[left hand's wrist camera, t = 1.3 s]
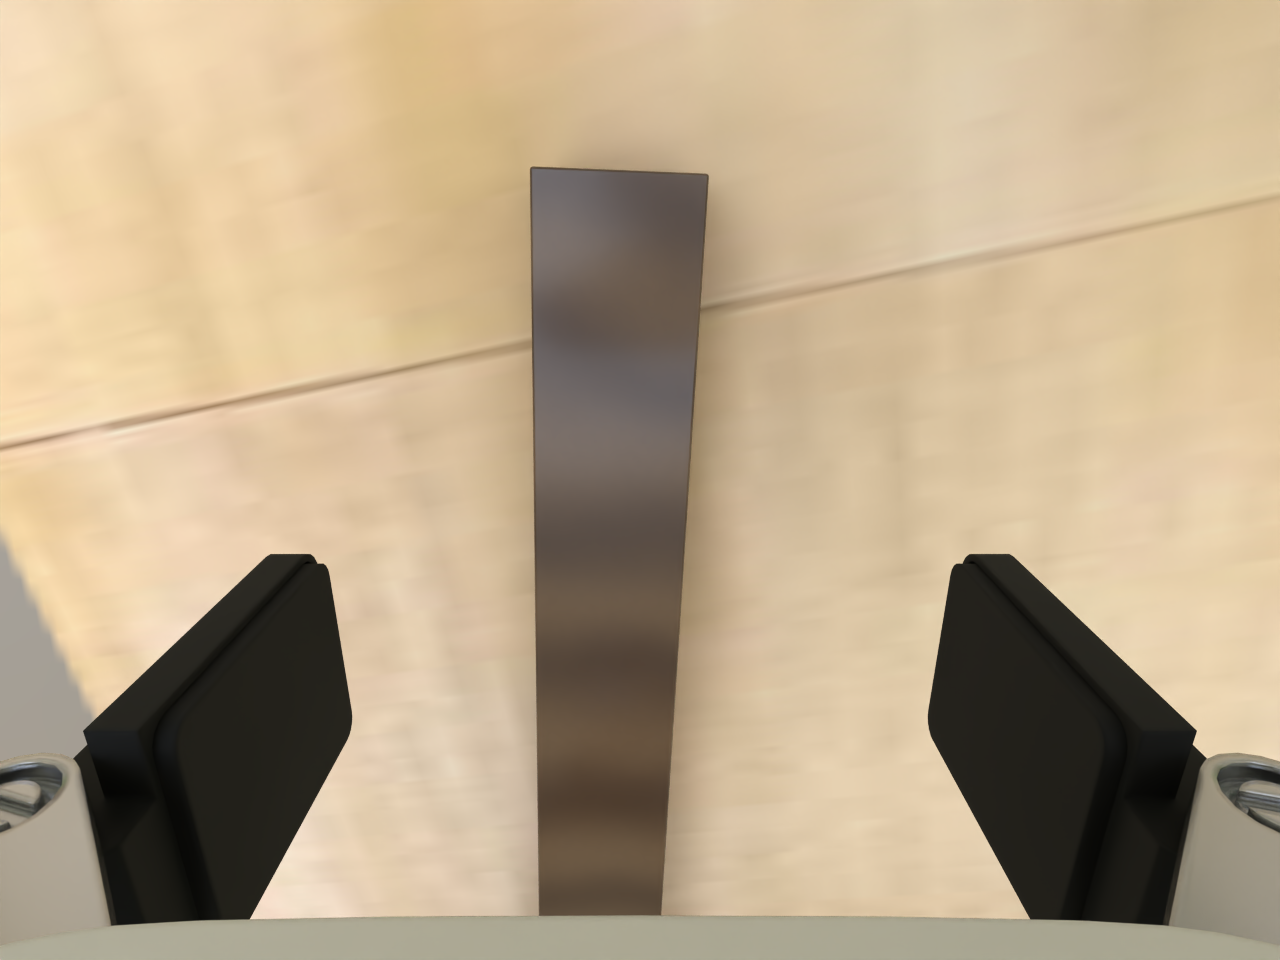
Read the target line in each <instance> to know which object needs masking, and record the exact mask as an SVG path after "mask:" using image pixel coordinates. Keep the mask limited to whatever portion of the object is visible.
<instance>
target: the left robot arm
mask: <svg viewBox="0 0 1280 960" xmlns="http://www.w3.org/2000/svg"><path fill="white" fill-rule="evenodd" d="M351 725H352V710H351V704H350V698H349V692H348V685H347V679H346V673H345V667H344V661H343V655H342V649H341V643H340V637H339V630H338V624H337V618H336V612H335V606H334V600H333V594H332V588H331V582H330V575H329V571H328V569H327V567H326V565H324V564H317V562H316V560H315V558H314V557H313V556H312V555H311V554H270V555H269V556H267V557H266V558H265V559H263V560H262V561H261V562H260V563H259V564H258V565H257V566H256V567H255V568H254V569H253V570H252V571H251V572H250V573H249V574H248V575H247V576H246V577H245V578H244V579H242V580H241V581H240V582H239V583H238V584H237V585H236V586H235V587H234V588H233V589H232V590H231V591H230V592H229V593H228V594H227V595H226V596H225V597H224V598H222V599H221V600H220V601H219V602H218V603H217V604H216V605H215V606H214V607H213V608H212V609H211V610H210V611H209V612H208V613H207V614H206V615H205V616H204V617H202V618H201V619H200V620H199V621H198V622H197V623H196V624H195V625H194V626H193V627H192V628H191V629H190V630H189V631H188V632H187V633H186V634H185V635H184V636H182V637H181V638H180V639H179V640H178V641H177V642H176V643H175V644H174V645H173V646H172V647H171V648H170V649H169V650H168V651H167V652H166V653H165V654H164V655H162V656H161V657H160V658H159V659H158V660H157V661H156V662H155V663H154V664H153V665H152V666H151V667H150V668H149V669H148V670H147V671H146V672H145V673H144V674H142V675H141V676H140V677H139V678H138V679H137V680H136V681H135V682H134V683H133V684H132V685H131V686H130V687H129V688H128V689H127V690H126V691H125V692H124V693H122V694H121V695H120V696H119V697H118V698H117V699H116V700H115V701H114V702H113V703H112V704H111V705H110V706H109V707H108V708H107V709H106V710H105V711H104V712H102V713H101V714H100V715H99V716H98V717H97V718H96V719H95V720H94V721H93V722H92V723H91V724H90V725H89V726H88V727H87V728H86V729H85V730H84V731H83V732H84V735H85V738H86V741H87V746H86V747H85V748H84V749H83V750H81V751H80V752H79V753H78V754H77V755H76V756H75V757H74V758H73V759H72V758H69V757H67V756H65V755H62V754H52V753H38V754H31V755H24V756H18V757H14V758H11V759H7V760H4V761H1V762H0V960H1280V762H1279V761H1276V760H1273V759H1269V758H1266V757H1262V756H1256V755H1249V754H1242V753H1228V754H1218V755H1215V756H1213V757H1211V758H1208V759H1207V758H1206V757H1205V756H1204V755H1203V754H1202V753H1201V752H1200V751H1199V750H1198V749H1196V748H1195V747H1194V746H1193V741H1194V738H1195V735H1196V732H1197V731H1196V730H1195V729H1194V728H1193V727H1192V726H1191V725H1190V724H1189V723H1188V722H1187V721H1186V720H1185V719H1184V718H1183V717H1182V716H1181V715H1180V714H1179V713H1178V712H1176V711H1175V710H1174V709H1173V708H1172V707H1171V706H1170V705H1169V704H1168V703H1167V702H1166V701H1165V700H1164V699H1163V698H1162V697H1161V696H1160V695H1159V694H1158V693H1156V692H1155V691H1154V690H1153V689H1152V688H1151V687H1150V686H1149V685H1148V684H1147V683H1146V682H1145V681H1144V680H1143V679H1142V678H1141V677H1140V676H1139V675H1138V674H1136V673H1135V672H1134V671H1133V670H1132V669H1131V668H1130V667H1129V666H1128V665H1127V664H1126V663H1125V662H1124V661H1123V660H1122V659H1121V658H1120V657H1119V656H1118V655H1116V654H1115V653H1114V652H1113V651H1112V650H1111V649H1110V648H1109V647H1108V646H1107V645H1106V644H1105V643H1104V642H1103V641H1102V640H1101V639H1100V638H1099V637H1098V636H1096V635H1095V634H1094V633H1093V632H1092V631H1091V630H1090V629H1089V628H1088V627H1087V626H1086V625H1085V624H1084V623H1083V622H1082V621H1081V620H1080V619H1079V618H1078V617H1076V616H1075V615H1074V614H1073V613H1072V612H1071V611H1070V610H1069V609H1068V608H1067V607H1066V606H1065V605H1064V604H1063V603H1062V602H1061V601H1060V600H1059V599H1058V598H1056V597H1055V596H1054V595H1053V594H1052V593H1051V592H1050V591H1049V590H1048V589H1047V588H1046V587H1045V586H1044V585H1043V584H1042V583H1041V582H1040V581H1039V580H1038V579H1036V578H1035V577H1034V576H1033V575H1032V574H1031V573H1030V572H1029V571H1028V570H1027V569H1026V568H1025V567H1024V566H1023V565H1022V564H1021V563H1020V562H1019V561H1018V560H1016V559H1015V558H1014V557H1013V556H1011V555H1010V554H969V555H968V556H967V557H966V558H965V560H964V562H963V564H956V565H954V567H953V569H952V571H951V575H950V582H949V588H948V594H947V600H946V606H945V612H944V618H943V624H942V630H941V637H940V643H939V649H938V655H937V661H936V667H935V673H934V679H933V685H932V692H931V698H930V704H929V710H928V725H929V731H930V734H931V737H932V739H933V741H934V743H935V745H936V747H937V749H938V750H939V752H940V754H941V756H942V758H943V760H944V761H945V763H946V765H947V767H948V769H949V771H950V772H951V774H952V776H953V778H954V780H955V782H956V784H957V785H958V787H959V789H960V791H961V793H962V795H963V796H964V798H965V800H966V802H967V804H968V806H969V807H970V809H971V811H972V813H973V815H974V817H975V818H976V820H977V822H978V824H979V826H980V828H981V829H982V831H983V833H984V835H985V837H986V839H987V840H988V842H989V844H990V846H991V848H992V850H993V852H994V853H995V855H996V857H997V859H998V861H999V863H1000V864H1001V866H1002V868H1003V870H1004V872H1005V874H1006V875H1007V877H1008V879H1009V881H1010V883H1011V885H1012V886H1013V888H1014V890H1015V892H1016V894H1017V896H1018V897H1019V899H1020V901H1021V903H1022V905H1023V907H1024V909H1025V910H1026V912H1027V914H1028V916H1029V918H1030V919H980V918H930V917H844V916H642V915H638V916H436V917H350V918H300V919H250V918H251V916H252V914H253V912H254V910H255V908H256V907H257V905H258V903H259V901H260V899H261V897H262V896H263V894H264V892H265V890H266V888H267V886H268V885H269V883H270V881H271V879H272V877H273V875H274V874H275V872H276V870H277V868H278V866H279V864H280V863H281V861H282V859H283V857H284V855H285V853H286V852H287V850H288V848H289V846H290V844H291V842H292V840H293V839H294V837H295V835H296V833H297V831H298V829H299V828H300V826H301V824H302V822H303V820H304V818H305V817H306V815H307V813H308V811H309V809H310V807H311V806H312V804H313V802H314V800H315V798H316V796H317V795H318V793H319V791H320V789H321V787H322V785H323V784H324V782H325V780H326V778H327V776H328V774H329V772H330V771H331V769H332V767H333V765H334V763H335V761H336V760H337V758H338V756H339V754H340V752H341V750H342V749H343V747H344V745H345V743H346V741H347V739H348V737H349V734H350V731H351Z"/></svg>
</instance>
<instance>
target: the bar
mask: <svg viewBox="0 0 1280 960" xmlns="http://www.w3.org/2000/svg"><path fill="white" fill-rule="evenodd" d="M708 180H709V176H708V174H700V173H676V172H652V171H627V170H603V169H579V168H554V167H531V168H530V208H531V290H532V373H533V456H534V539H535V621H536V704H537V787H538V870H539V916H638V915H642V916H661V907H662V892H663V876H664V861H665V846H666V830H667V815H668V799H669V784H670V768H671V753H672V737H673V722H674V706H675V691H676V675H677V660H678V644H679V629H680V613H681V598H682V582H683V567H684V552H685V536H686V521H687V505H688V490H689V474H690V459H691V443H692V428H693V412H694V397H695V381H696V366H697V350H698V335H699V319H700V304H701V288H702V273H703V258H704V242H705V227H706V211H707V196H708Z"/></svg>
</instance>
